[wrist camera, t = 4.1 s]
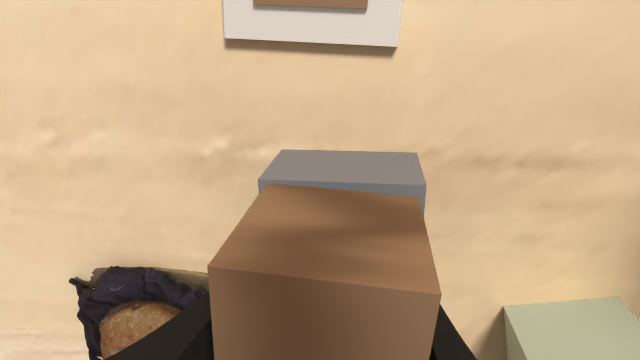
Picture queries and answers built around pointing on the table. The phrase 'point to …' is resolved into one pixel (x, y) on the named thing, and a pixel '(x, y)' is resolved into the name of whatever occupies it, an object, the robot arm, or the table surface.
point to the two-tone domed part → (132, 303)
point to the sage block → (572, 330)
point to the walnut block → (325, 278)
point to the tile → (315, 21)
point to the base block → (349, 172)
